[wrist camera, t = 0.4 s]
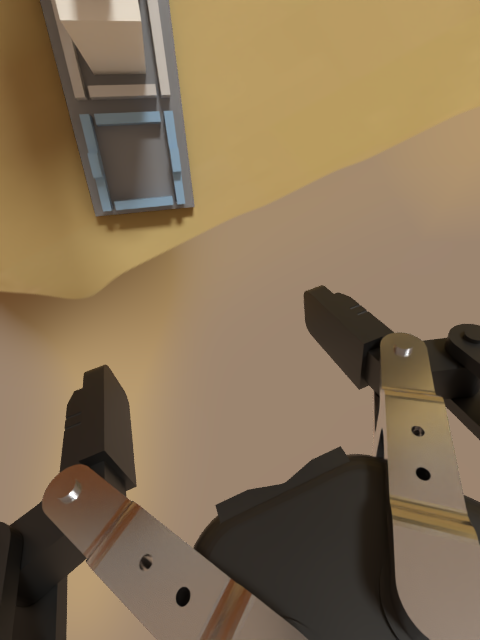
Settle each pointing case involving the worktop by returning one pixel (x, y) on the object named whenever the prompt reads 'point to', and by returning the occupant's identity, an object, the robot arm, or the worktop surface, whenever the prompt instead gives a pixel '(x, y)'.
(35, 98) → the worktop surface
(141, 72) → the white post with knob
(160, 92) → the plate
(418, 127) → the worktop surface
